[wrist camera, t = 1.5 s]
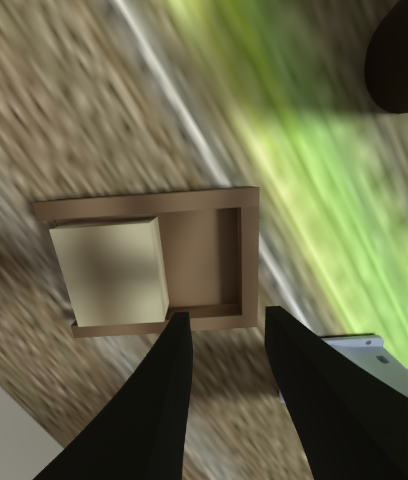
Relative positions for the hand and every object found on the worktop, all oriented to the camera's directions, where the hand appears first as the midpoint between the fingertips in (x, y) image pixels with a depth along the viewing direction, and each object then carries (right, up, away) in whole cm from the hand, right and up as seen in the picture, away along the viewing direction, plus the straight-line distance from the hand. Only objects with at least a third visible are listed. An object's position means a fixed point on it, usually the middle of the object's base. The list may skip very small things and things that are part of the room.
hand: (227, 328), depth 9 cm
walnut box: (-5, +2, +8) cm, 10 cm away
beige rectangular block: (-8, +2, +8) cm, 11 cm away
